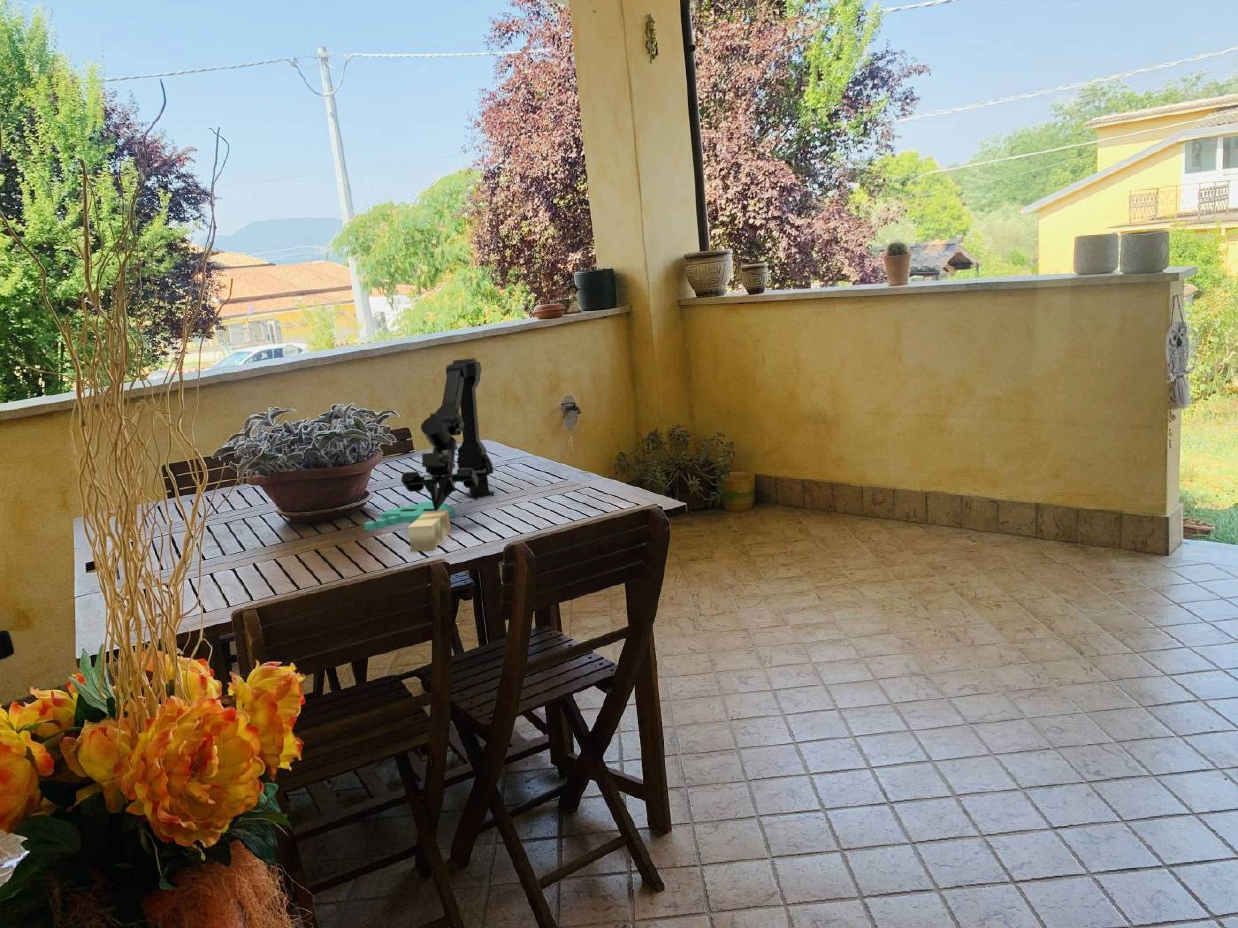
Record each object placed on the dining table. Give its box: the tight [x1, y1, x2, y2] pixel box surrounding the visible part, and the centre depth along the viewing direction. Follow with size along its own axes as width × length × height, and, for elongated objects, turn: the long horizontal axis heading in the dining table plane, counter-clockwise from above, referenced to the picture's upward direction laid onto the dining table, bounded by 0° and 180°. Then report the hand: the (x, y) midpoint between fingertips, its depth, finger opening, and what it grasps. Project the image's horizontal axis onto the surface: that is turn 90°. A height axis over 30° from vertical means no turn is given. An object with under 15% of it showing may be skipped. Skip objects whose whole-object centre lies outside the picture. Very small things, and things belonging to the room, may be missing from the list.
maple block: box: [407, 511, 452, 552], centre depth 224 cm, size 6×6×13 cm
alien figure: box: [363, 501, 456, 531], centre depth 247 cm, size 20×2×20 cm
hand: (435, 508), depth 229 cm, fingers closed
